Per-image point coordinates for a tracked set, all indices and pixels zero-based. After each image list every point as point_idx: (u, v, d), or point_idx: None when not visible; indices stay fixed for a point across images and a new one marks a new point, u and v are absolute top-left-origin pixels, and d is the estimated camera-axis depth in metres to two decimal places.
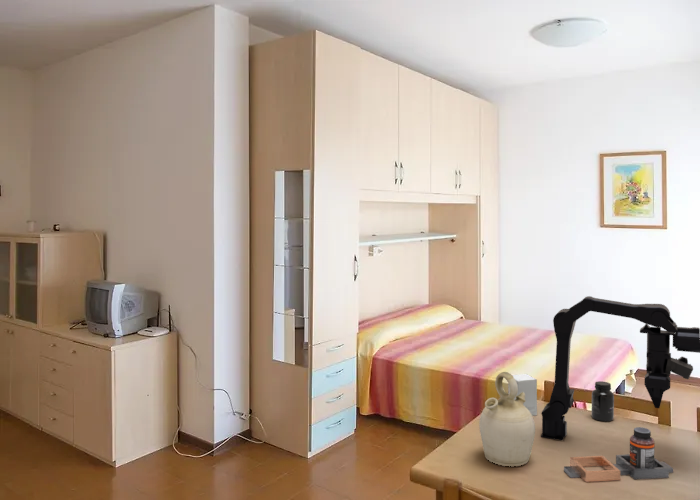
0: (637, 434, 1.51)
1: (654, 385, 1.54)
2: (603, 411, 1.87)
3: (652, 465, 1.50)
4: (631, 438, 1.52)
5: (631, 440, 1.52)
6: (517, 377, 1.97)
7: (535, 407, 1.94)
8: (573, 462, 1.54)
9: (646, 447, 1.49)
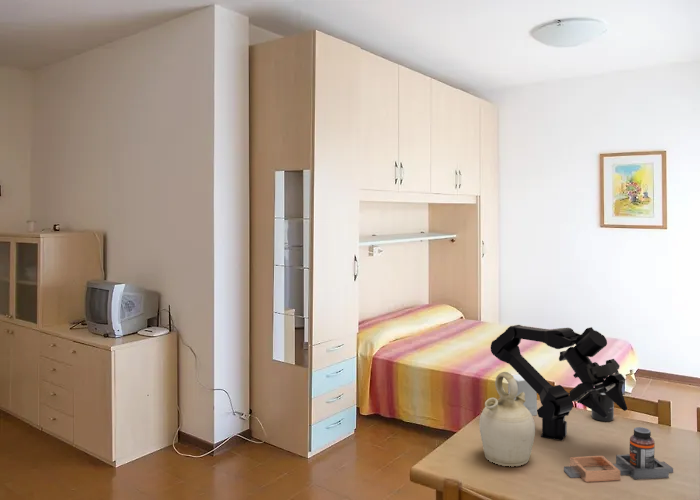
0: (637, 434, 1.51)
1: (576, 396, 1.58)
2: None
3: (652, 465, 1.50)
4: (631, 438, 1.52)
5: (631, 440, 1.52)
6: (517, 377, 1.97)
7: (535, 407, 1.94)
8: (573, 462, 1.54)
9: (646, 447, 1.49)
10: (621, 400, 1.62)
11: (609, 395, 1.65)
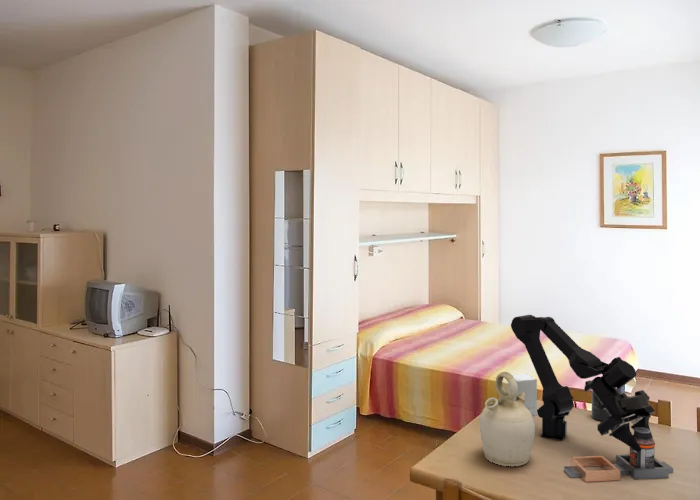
0: (637, 434, 1.51)
1: (605, 431, 1.51)
2: (603, 411, 1.87)
3: (652, 465, 1.50)
4: None
5: None
6: (517, 377, 1.97)
7: (535, 407, 1.94)
8: (573, 462, 1.54)
9: (646, 447, 1.49)
10: None
11: None
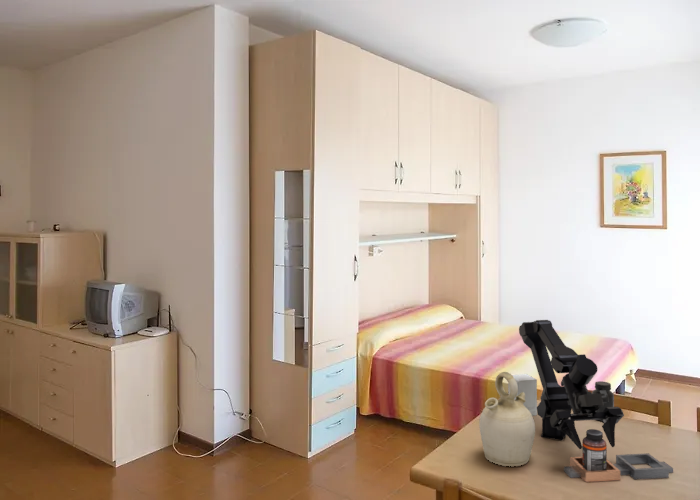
0: (586, 434, 1.51)
1: (553, 422, 1.55)
2: None
3: (600, 468, 1.49)
4: None
5: None
6: (517, 377, 1.97)
7: (535, 407, 1.94)
8: (573, 462, 1.54)
9: (592, 449, 1.49)
10: (610, 435, 1.52)
11: (604, 429, 1.56)
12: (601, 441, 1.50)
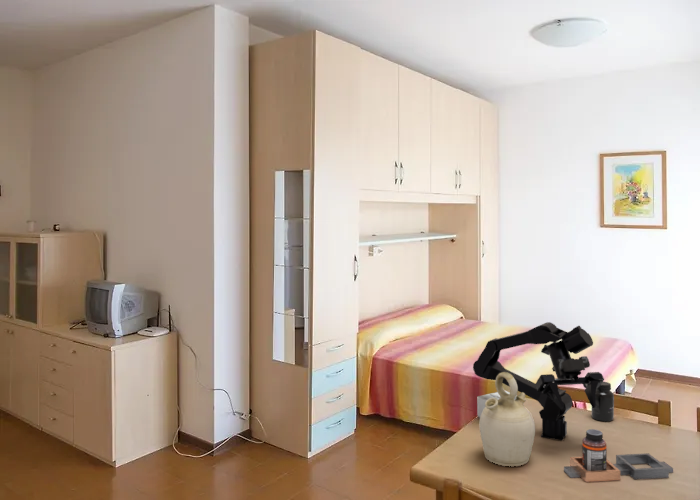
0: (586, 434, 1.51)
1: (538, 386, 1.67)
2: (603, 411, 1.87)
3: (600, 468, 1.49)
4: None
5: None
6: None
7: None
8: (573, 462, 1.54)
9: (592, 449, 1.49)
10: (591, 398, 1.64)
11: (586, 392, 1.68)
12: (601, 441, 1.50)
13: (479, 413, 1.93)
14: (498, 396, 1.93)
